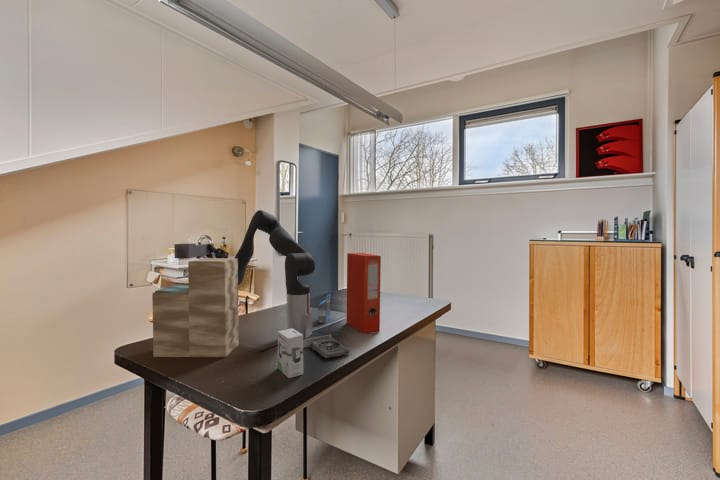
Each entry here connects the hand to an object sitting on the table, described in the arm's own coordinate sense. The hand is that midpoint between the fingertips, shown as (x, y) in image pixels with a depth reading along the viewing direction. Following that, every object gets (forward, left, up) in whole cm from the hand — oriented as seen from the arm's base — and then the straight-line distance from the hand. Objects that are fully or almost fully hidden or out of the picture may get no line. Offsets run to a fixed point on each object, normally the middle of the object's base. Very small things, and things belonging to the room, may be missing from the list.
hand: (203, 245), depth 132 cm
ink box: (-49, +23, -36) cm, 65 cm away
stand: (-10, +16, -36) cm, 41 cm away
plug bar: (-1, +5, -4) cm, 6 cm away
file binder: (-59, -26, -36) cm, 74 cm away
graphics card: (-54, +5, -37) cm, 65 cm away
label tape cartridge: (-39, -32, -36) cm, 63 cm away
